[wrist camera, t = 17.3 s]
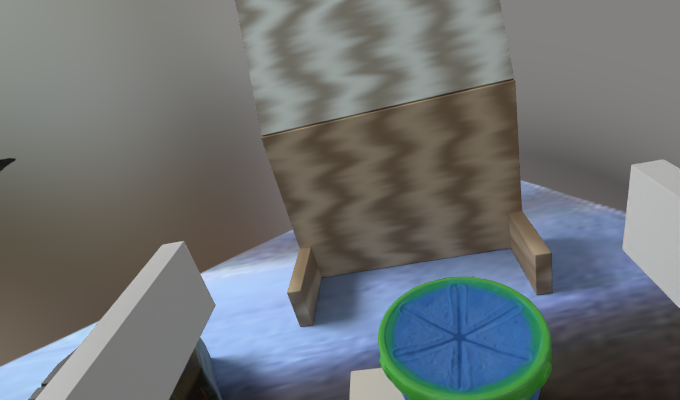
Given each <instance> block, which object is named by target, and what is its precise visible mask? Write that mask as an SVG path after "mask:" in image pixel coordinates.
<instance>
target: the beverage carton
mask: <svg viewBox="0 0 680 400" xmlns="http://www.w3.org/2000/svg"><path fill="white" fill-rule="evenodd" d="M169 400H222V398H221V395H220V391H219V388H218V384H217V380H216V376H215V372H214V369H213V364H212V360H211V357H210V355H209V352H208V351H207V348H206V346H205V344H204V342H203V341H202V339H201V338H199V340H198V342H197V344H196V346H195V348H194V350H193V352H192V354H191V356H190V358H189V360H188V362H187V364H186V366H185V368H184V370H183V372H182V374H181V376H180V378H179V380H178V382H177V384H176V386H175V388H174V390H173V392H172V394H171V396H170V399H169Z"/></svg>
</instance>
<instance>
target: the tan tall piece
mask: <svg viewBox="0 0 680 400" xmlns="http://www.w3.org/2000/svg"><path fill="white" fill-rule="evenodd" d="M235 2H236V7H237V12H238V17H239V23H240V27H241V33H242V38H243V43H244V48H245V53H246V58H247V64H248V68H249V74H250V79H251V84H252V89H253V94H254V99H255V105H256V110H257V115H258V120H259V125H260V130H261V135H262V138H261V139H262V142H263V145H264V147H265V150H266V153H267V156H268V159H269V162H270V164H271V167H272V170H273V173H274V176H275V179H276V181H277V185H278V187H279V190H280V193H281V196H282V199H283V202H284V204H285V207H286V210H287V213H288V216H289V219H290V222H291V224H292V227H293V230H294V233H295V236H296V239H297V242H298V245H299V247H300V250H299V253H298V257H297V260H296V264H295V267H294V271H293V274H292V278H291V281H290V285H289V288H288V292H287V294H288V296H289V299H290V302H291V304H292V307H293V309H294V312H295V314H296V317H297V320H298V322H299V325H300V327H302V326H309V325H313V322H314V316H315V311H316V305H317V299H318V294H319V288H320V283H321V277H328V276H334V275H341V274H347V273H354V272H360V271H366V270H373V269H379V268H386V267H392V266H398V265H405V264H411V263H418V262H424V261H431V260H437V259H443V258H450V257H456V256H463V255H469V254H475V253H482V252H488V251H495V250H501V249H508V248H511V249H512V251H513V253H514V255H515V257H516V258H517V260H518V262H519V264H520V266H521V268H522V269H523V271H524V273H525V275H526V277H527V278H528V280H529V282H530V284H531V286H532V287H533V289H534V291H535V293H536V295H540V294H547V293H552V253H551V251H550V250H549V249H548V247H547V246H546V244H545V243H544V241H543V240H542V239H541V237H540V236H539V234H538V233H537V231H536V230H535V229H534V227H533V226H532V224H531V223H530V221H529V220H528V219H527V217H526V216H525V214H524V213H523V211H522V204H521V184H520V164H519V146H518V125H517V106H516V86H515V80H513V78H514V76H513V70H512V65H511V59H510V54H509V48H508V43H507V38H506V32H505V27H504V22H503V16H502V11H501V6H500V0H235Z"/></svg>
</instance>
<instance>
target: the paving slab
mask: <svg viewBox="0 0 680 400" xmlns="http://www.w3.org/2000/svg"><path fill="white" fill-rule="evenodd" d="M350 400H405V399H404V397H403V395H402V394H401V392H400V391H399V390H398V389H397V388H396V387H395V385H394V384H393V383H392V382H391V381H390V380H389V379H388V378H387V376H386V375H385V373H384V371H383V369H382V368H377V369H368V370H359V371H351V383H350Z"/></svg>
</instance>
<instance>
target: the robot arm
mask: <svg viewBox="0 0 680 400" xmlns="http://www.w3.org/2000/svg"><path fill="white" fill-rule="evenodd" d="M622 249H623V250H624V251H625V252H626V253H627V255H628V256H629V257H630V258H631V259H632V260H633V261H634V262H635V263H636V264H637V265H638V266H639V267H640V268H641V269H642V270H643V271H644V272H645V273H646V274H647V275H648V276H649V277H650V278H651V279H652V280H653V281H654V282H655V283H656V284H657V285H658V286H659V287H660V288H661V289H662V290H663V291H664V292H665V293H666V295H667V296H668V297H669V298H670V299H671V300H672V301H673V302H674V303H675V304H676V305H677V306H678V307H679V308H680V169H679V168H678V167H676V166H674V165H672V164H671V163H669V162H667V161H665V160H657V161H652V162H645V163H640V164H634V165H631V175H630V184H629V193H628V202H627V211H626V221H625V230H624V239H623V248H622ZM215 306H216V305H215V303H214V301H213V299H212V297H211V295H210V293H209V291H208V289H207V287H206V285H205V283H204V281H203V279H202V277H201V275H200V273H199V271H198V269H197V267H196V265H195V263H194V261H193V258H192V256H191V254H190V253H189V250H188V248H187V247H186V244H185V242H184V241H181V242H175V243H169V244H164V245H162V246H161V247H160V248H159V250H158V251H157V252H156V253H155V255H154V256H153V257H152V258H151V259H150V261H149V262H148V263H147V264H146V266H145V267H144V268H143V269H142V270H141V272H140V273H139V274H138V275H137V277H136V278H135V279H134V280H133V281H132V282H131V284H130V285H129V286H128V287H127V289H126V290H125V291H124V292H123V293H122V295H121V296H120V297H119V298H118V299H117V301H116V302H115V303H114V304H113V306H112V307H111V308H110V310H108V312H107V313H106V314H105V315H104V317H103V318H102V319H101V320H100V321H99V323H98V324H97V325H96V326H95V327H94V329H93V330H92V331H91V332H90V333H89V335H88V336H87V337H86V338H85V340H84V341H83V342H82V343H81V344H80V346H79V347H78V348H77V349H76V350H74V351H73V352H72V353H71V354H70V355H68V356H67V357H66V358H65V359H64V360H63V361H61V362H60V363H59V364H58V365H57V366H56V367H55V368H54V369H53V371H52V372H51V373H50V374H49V375H48V377H47V378H46V379H45V380H44V381H43V383H42V384H41V385H42V386H41V388H38V389H37V390H36V391H35V392H34V393H33V394H32V396H31V397H30V398H29V399H28V400H169V399H170V396H171V394H172V392H173V390H174V388H175V386H176V384H177V382H178V380H179V378H180V376H181V374H182V372H183V370H184V368H185V366H186V364H187V362H188V360H189V358H190V356H191V354H192V352H193V350H194V348H195V346H196V344H197V342H198V340H199V338H200V336H201V334H202V332H203V330H204V328H205V326H206V324H207V322H208V320H209V318H210V316H211V314H212V312H213V310H214V308H215Z"/></svg>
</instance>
